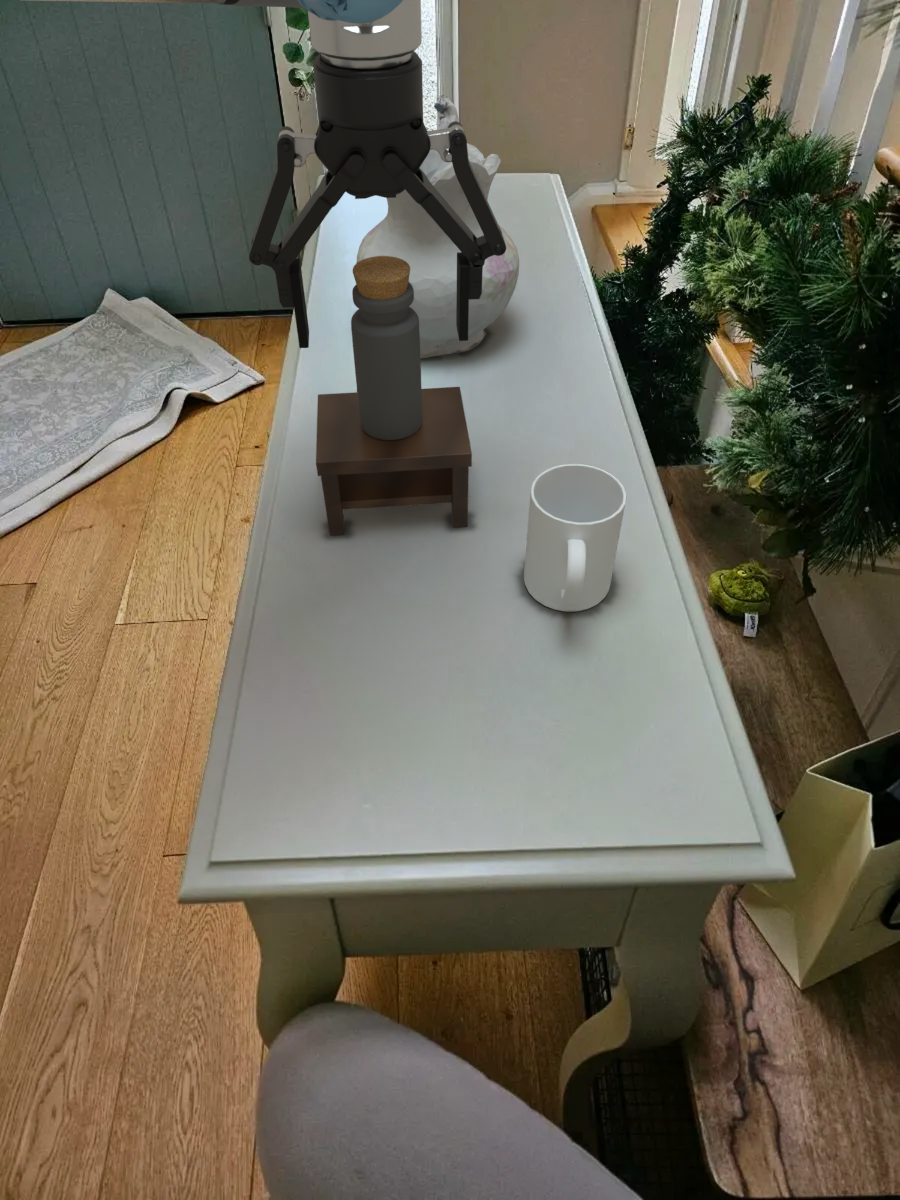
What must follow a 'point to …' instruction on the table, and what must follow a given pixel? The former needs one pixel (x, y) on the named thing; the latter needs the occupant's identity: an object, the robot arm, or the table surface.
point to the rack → (393, 458)
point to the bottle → (386, 349)
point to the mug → (572, 536)
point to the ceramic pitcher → (444, 252)
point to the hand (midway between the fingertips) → (383, 336)
